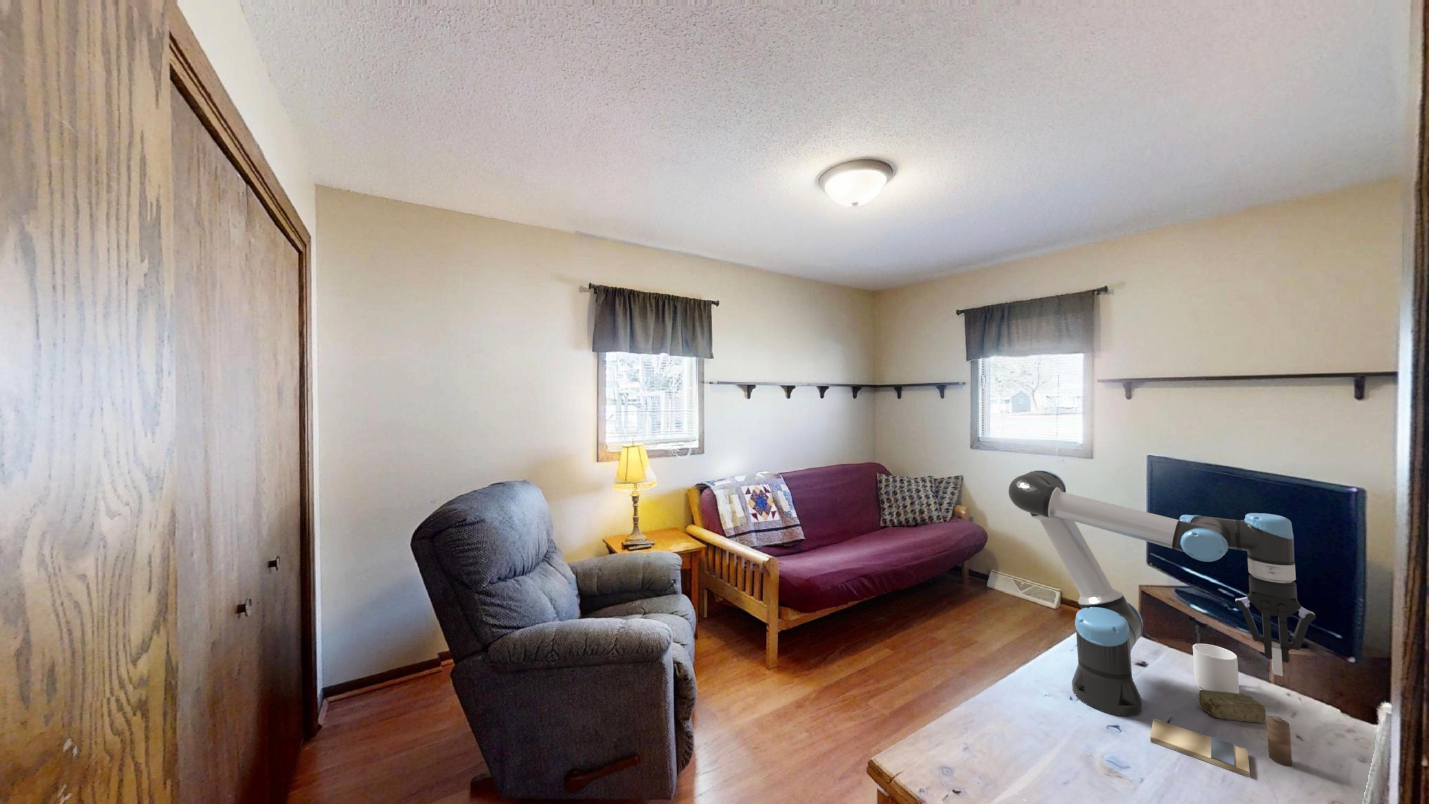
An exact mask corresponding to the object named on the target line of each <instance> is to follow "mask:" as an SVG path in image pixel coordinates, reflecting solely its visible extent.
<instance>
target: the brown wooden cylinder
mask: <svg viewBox="0 0 1429 804" xmlns="http://www.w3.org/2000/svg"><path fill="white" fill-rule="evenodd" d="M1265 721H1266V733H1267V734H1266V736H1267V750H1268V758H1269V759H1270V760H1271V761H1273V762H1274V763H1277V764H1279V765H1281V766H1285V767H1292V766H1293V757H1292V744H1291V743H1292V742H1291V741H1292V740H1291V728H1290V726H1291V725H1290V723H1289V722H1288V721H1287V720H1284V719H1283V718H1282V717H1281V716H1278V715H1276V714H1275V715H1266V717H1265Z"/></svg>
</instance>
